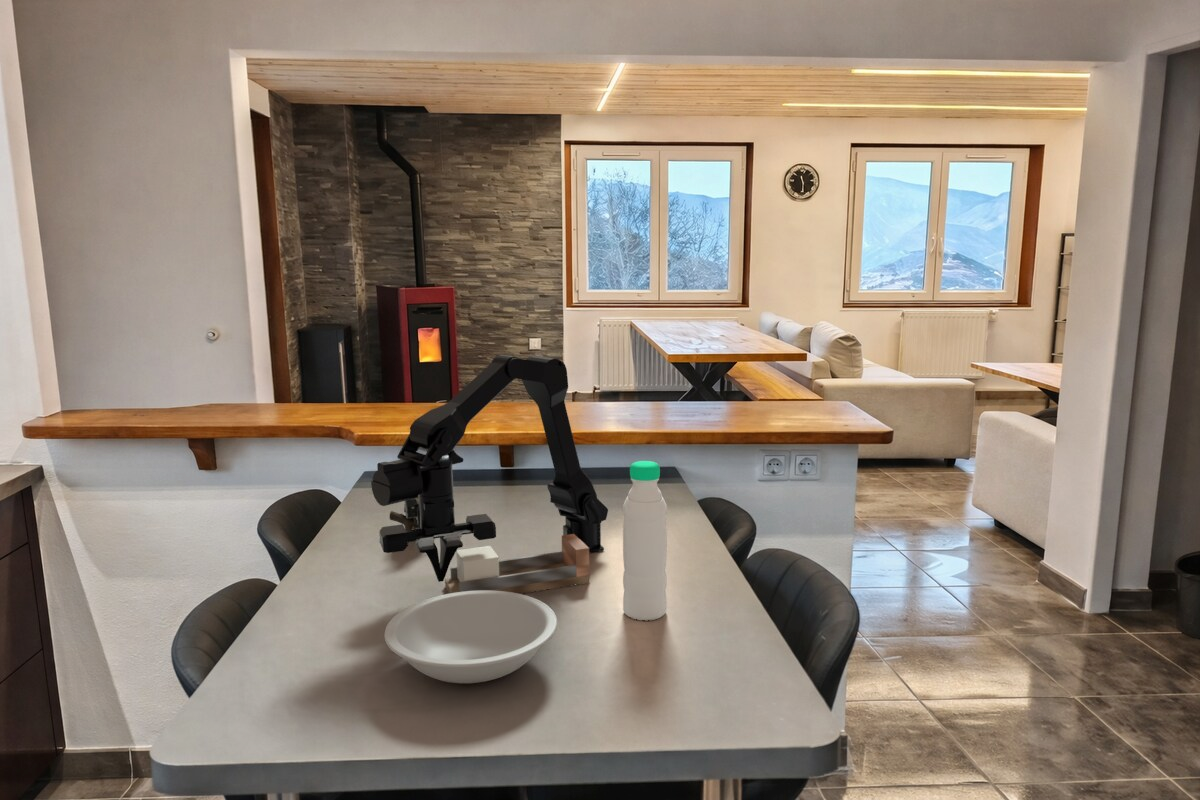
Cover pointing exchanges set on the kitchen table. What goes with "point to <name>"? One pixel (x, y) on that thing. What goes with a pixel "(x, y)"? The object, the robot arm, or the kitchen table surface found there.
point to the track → (533, 571)
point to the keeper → (477, 563)
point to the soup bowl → (471, 634)
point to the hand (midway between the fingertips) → (440, 580)
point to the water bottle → (644, 545)
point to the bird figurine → (402, 518)
